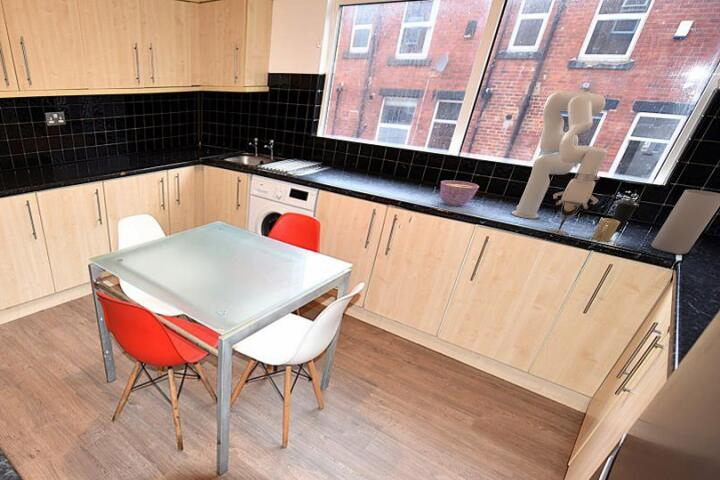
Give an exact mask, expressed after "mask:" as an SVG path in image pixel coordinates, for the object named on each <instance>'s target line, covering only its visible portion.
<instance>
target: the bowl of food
mask: <svg viewBox="0 0 720 480" xmlns="http://www.w3.org/2000/svg"><path fill="white" fill-rule="evenodd" d="M479 188H480V186H479V185H478V184H476V183H473V182H469V181H464V180H451V179H450V180H446V179H445V180H441V181H440V191H439V192H440V194H439V197H440V199H441V201H442V202H444V203H445V205H447V206H451V207H461V206H463V205H466V204H468V203H469V202H471V200H472V199H473V198H474V196H475V195H476V193H477V191H478V190H479Z"/></svg>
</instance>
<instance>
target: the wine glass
mask: <svg viewBox="0 0 720 480" xmlns="http://www.w3.org/2000/svg"><path fill="white" fill-rule="evenodd" d="M582 207H583V204H576V203H569V202H565V201H563V202H562V203H560V206H559V208H558V213H559V216H560V218H561V220H560V221H561V222H560V224H559V226H558V229H550V230H548V231H549V232H550V233H552V234H556V235H563V236H565V235H567V232H565V231H562V230H561V229H562V226H563V225H564V223H565V222H566V221H567V220H569V219H571V218H572V217H574V216H576V215H577V214H578V213H579V211H580V210H581V208H582Z"/></svg>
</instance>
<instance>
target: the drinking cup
mask: <svg viewBox="0 0 720 480" xmlns="http://www.w3.org/2000/svg"><path fill="white" fill-rule="evenodd" d="M637 191H638V189H635V190H634V191H633V193H632V195H631V197H630V198H629V200H627V199H626V200H625V199H624V200H619V201H618V204H617V206H616V209H615V211H614V214H613V216H612V218H611V219H614V220H618V221H620V224H619V226H618V227H617V229H616V231H615V233H620V232H621V230H622V229H623V227H624V226H625V225H626V224H627V222H628V220H629V219H630V217H631V216H632V215H633V213H634V212H635V210H636V209H637V207H639V206H640V205H639V203H638V202H636V201H633V198H634V197H635V195H636V193H637Z"/></svg>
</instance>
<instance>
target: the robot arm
mask: <svg viewBox="0 0 720 480" xmlns="http://www.w3.org/2000/svg"><path fill="white" fill-rule="evenodd" d="M605 107H606V99H605V97H604V96H603V95H600V94H597V93H593V92H587V91H571V90H568V91H567V90H563V91H557V92H554V93H552V94H551V95H550V96H548V98H547V100H546V101H545V103H544V105H543V109H542V130H541V135H540V143H539V149H540V151H541V152H545V153H544V154H541V155H538V156H537V157H536V159H535V160H534V161H533V164H532V169H531V173H530V176H529V178H528V181H527V184H526V186H525V189H524V190H523V193H522V195H521V197H520V200H519V203H518V204H517V205H516V210H512V211H511V215H513V216H515V217H519V218H523V219H530V220H531V219H533V220H534V219H538V218H539V216H540V215H539V214H538V210H539V209H540V207H541V204H542V202H543V200H544V197H545V195H546V193H547V191H548V188H549V186H550V182H551V180H550V176H549V175H566V174H569V173H570V172H571V171H572V170H573V168H574V166H575V164H578V165H579V166H578V169H577V171H576V173H575V174H574V175H575V176H574V177H573V178H571V179H570V181H569V182H568V184H567V186H566V188H565V189H564V191H560V192H556V193H554V194H552V198H553V202H554V203H555V206H554V208H553V212H554V214H557V212H558V211H559V208H560V205H561V203H562V202H563V201H565V202H569V203H576V204H582V207H581V208H582V209H581V211H580V212H579V214H578V218H581V217H582V216H584V215H585V213H586V210H588V209H590V208H591V207H593V206H594V205H596V204H597V203H598V202H599V199H598V198H596V197H595V196H593V195H592V194H593V191H594V189H595V185H596V181H597V180H600V178H601V176H599V175H598V174H599V172H600V170H601V168H602V165H603V163H604V162H605V159H606V157H607V155H608V152H609V151H608V150H607V149H605V148H599V147H597V146H594V145H593V146H592V145H579V137H578V135H580V134H582V133H585V132H586V131H588V130H589V129H591V128H592V127H593V124H594V118H593V117H594V116H598V115H600V114H601V113H602V112H603V110H604V109H605ZM561 112H567V120H568V131H564V126H565V119H564V116H563V114H562V113H561ZM558 153H559V154H558ZM559 196H561V198H560V199H558V197H559ZM589 200H591V201H592V202H590V203H589V204H588V202H589Z"/></svg>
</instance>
